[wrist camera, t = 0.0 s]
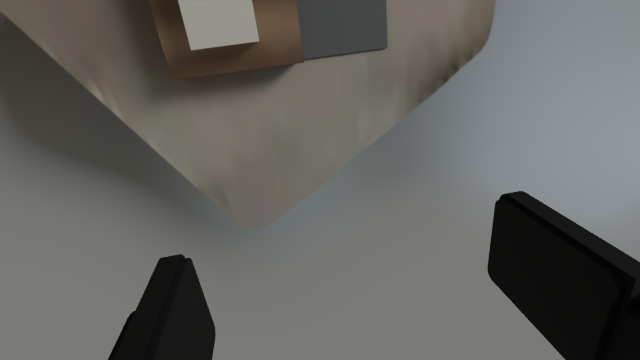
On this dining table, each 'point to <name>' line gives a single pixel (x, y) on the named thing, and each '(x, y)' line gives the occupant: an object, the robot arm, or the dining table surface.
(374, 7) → the mat
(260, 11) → the panel
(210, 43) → the tile
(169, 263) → the robot arm
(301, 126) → the dining table surface
